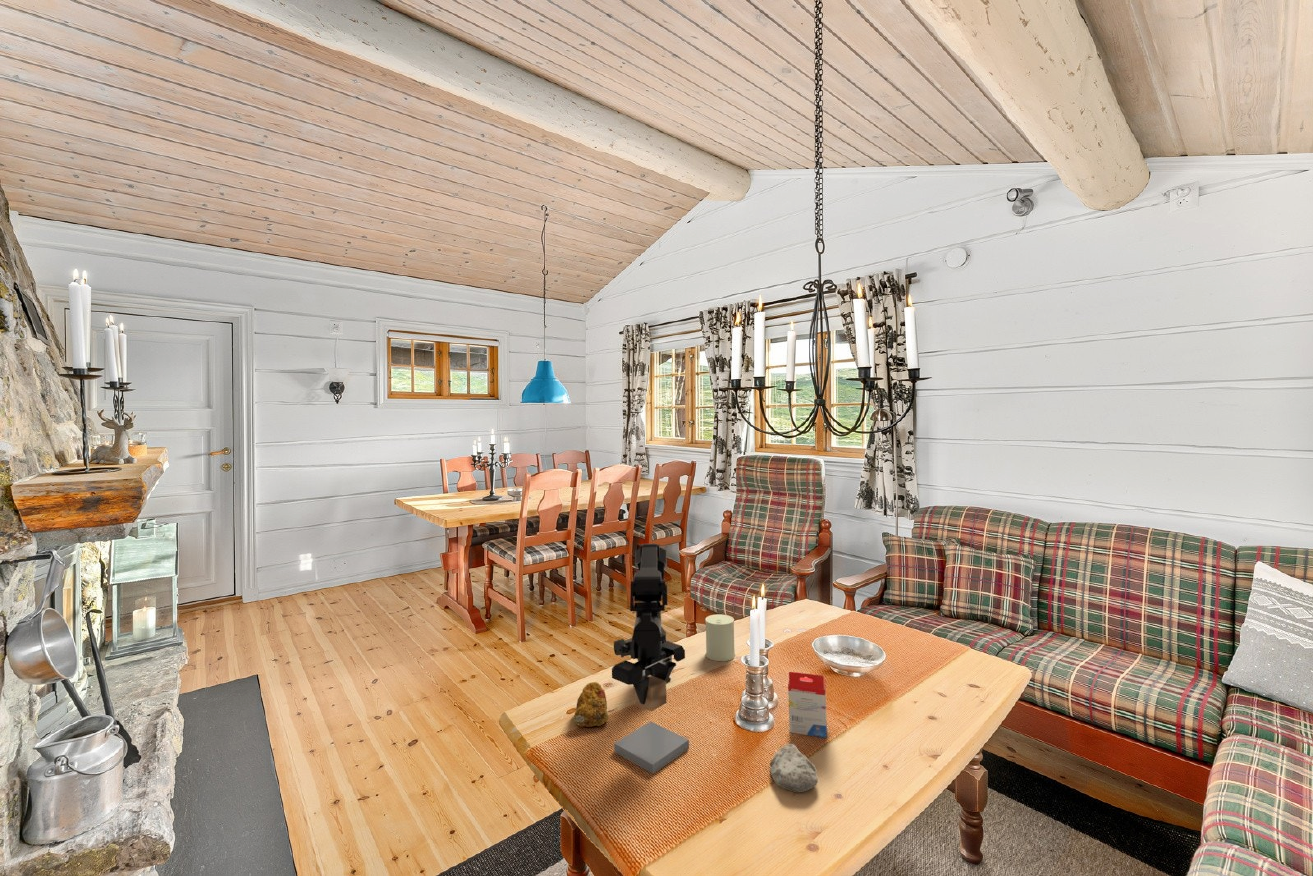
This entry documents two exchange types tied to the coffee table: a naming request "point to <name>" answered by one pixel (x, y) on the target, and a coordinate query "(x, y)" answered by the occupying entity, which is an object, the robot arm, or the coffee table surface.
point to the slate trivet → (651, 746)
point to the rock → (591, 706)
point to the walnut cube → (654, 694)
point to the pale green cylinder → (720, 637)
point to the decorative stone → (793, 769)
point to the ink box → (807, 704)
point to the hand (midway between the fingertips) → (650, 699)
